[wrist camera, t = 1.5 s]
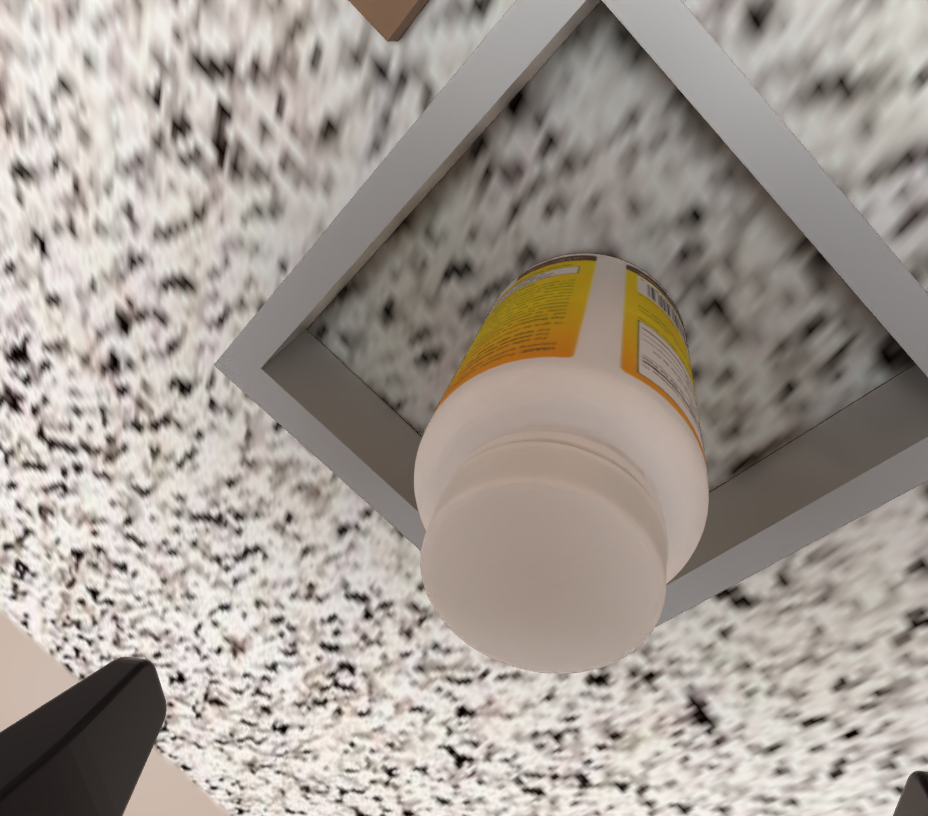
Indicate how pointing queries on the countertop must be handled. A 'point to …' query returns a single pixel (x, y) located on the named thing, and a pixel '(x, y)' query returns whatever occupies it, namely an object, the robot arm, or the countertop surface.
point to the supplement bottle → (564, 469)
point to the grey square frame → (774, 166)
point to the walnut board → (389, 15)
